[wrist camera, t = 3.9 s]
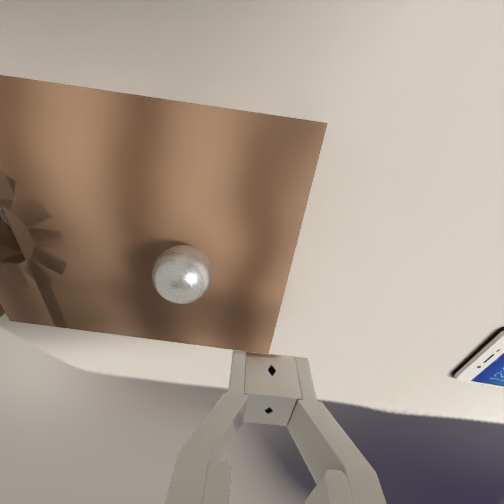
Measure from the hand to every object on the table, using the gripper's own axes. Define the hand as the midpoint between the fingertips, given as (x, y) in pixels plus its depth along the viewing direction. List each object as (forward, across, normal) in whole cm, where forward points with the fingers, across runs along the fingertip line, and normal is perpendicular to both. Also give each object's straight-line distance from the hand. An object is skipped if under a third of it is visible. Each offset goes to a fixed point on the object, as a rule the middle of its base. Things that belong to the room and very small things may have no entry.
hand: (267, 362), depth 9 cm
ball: (+6, +5, -1) cm, 8 cm away
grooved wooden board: (+8, +10, -1) cm, 14 cm away
